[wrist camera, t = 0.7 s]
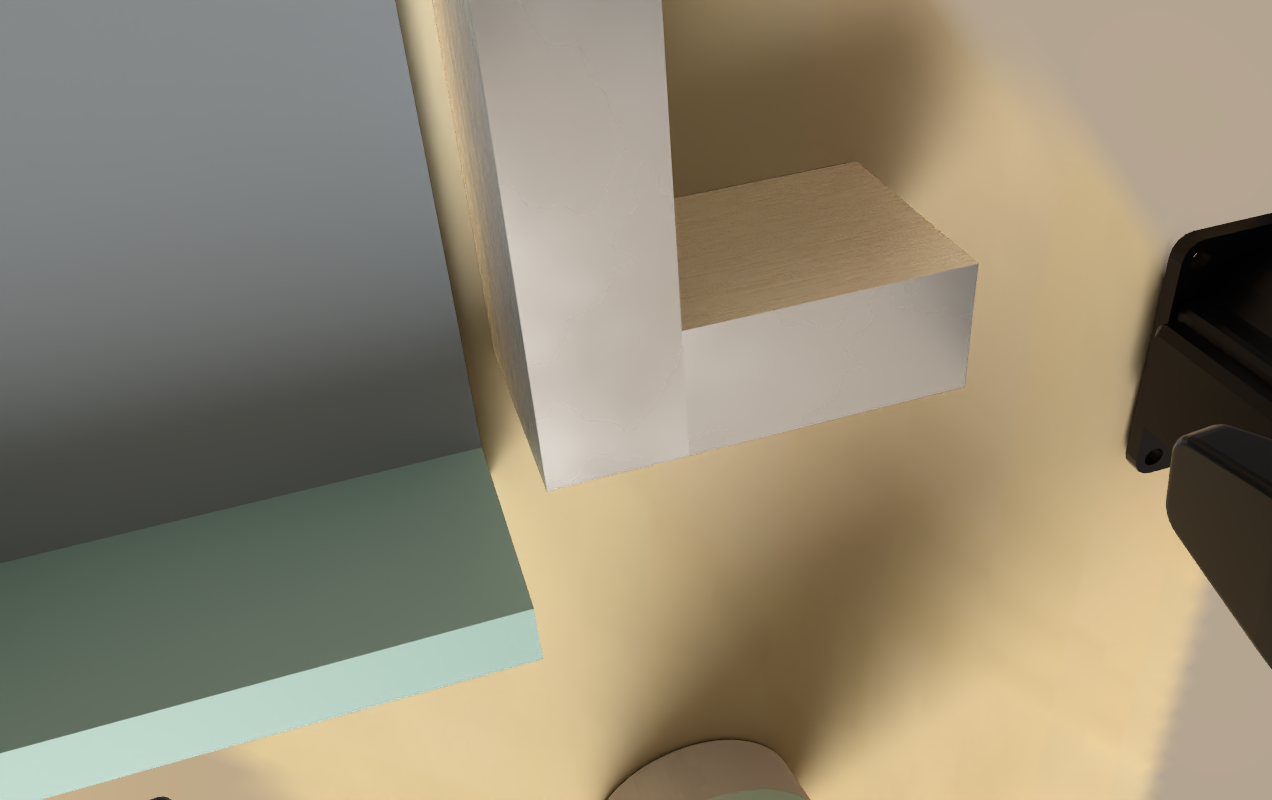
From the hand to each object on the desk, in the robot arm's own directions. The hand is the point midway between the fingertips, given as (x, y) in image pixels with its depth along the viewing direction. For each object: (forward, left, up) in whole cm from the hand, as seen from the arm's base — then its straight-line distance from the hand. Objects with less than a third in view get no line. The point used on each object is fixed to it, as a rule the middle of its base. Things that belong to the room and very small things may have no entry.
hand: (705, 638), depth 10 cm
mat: (+6, +1, -12) cm, 14 cm away
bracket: (-4, 0, -12) cm, 13 cm away
